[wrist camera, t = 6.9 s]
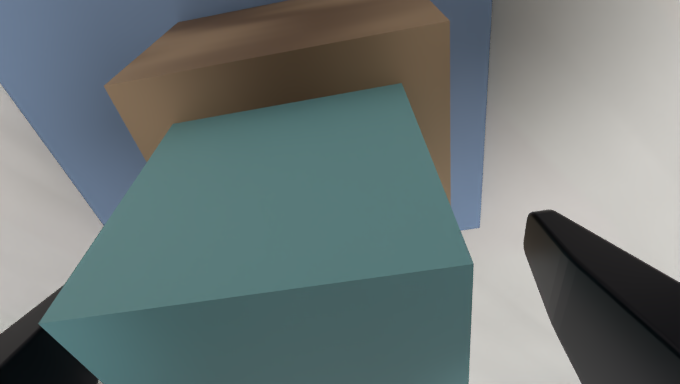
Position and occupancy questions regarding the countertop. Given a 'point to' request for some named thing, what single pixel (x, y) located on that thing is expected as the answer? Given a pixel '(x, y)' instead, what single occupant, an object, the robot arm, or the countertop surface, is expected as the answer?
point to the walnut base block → (291, 65)
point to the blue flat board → (140, 33)
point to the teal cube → (278, 256)
